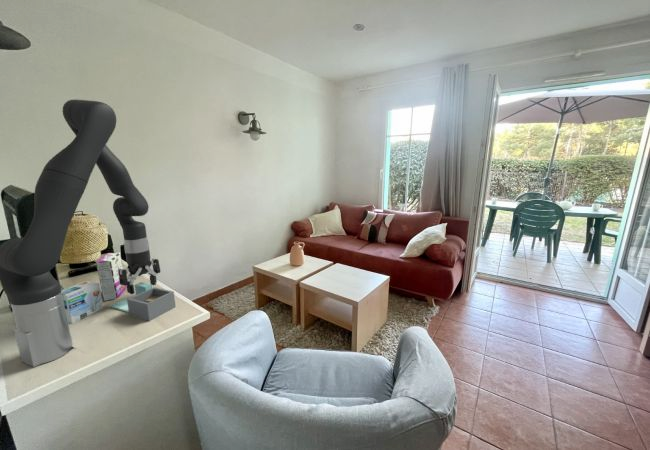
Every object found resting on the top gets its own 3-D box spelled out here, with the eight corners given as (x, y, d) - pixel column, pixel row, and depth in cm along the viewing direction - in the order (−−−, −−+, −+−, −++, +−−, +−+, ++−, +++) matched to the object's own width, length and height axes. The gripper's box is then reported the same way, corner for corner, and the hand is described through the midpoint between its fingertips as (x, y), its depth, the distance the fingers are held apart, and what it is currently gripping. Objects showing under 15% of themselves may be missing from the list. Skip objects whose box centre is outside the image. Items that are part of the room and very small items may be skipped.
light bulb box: (72, 325, 87) (66, 295, 84) (56, 323, 88) (50, 293, 86) (105, 309, 97) (100, 282, 95) (90, 307, 98) (85, 280, 96)
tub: (149, 323, 88) (147, 304, 87) (129, 317, 92) (126, 298, 90) (175, 309, 97) (173, 291, 96) (156, 304, 101) (154, 287, 100)
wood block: (155, 310, 95) (154, 301, 94) (146, 309, 95) (145, 300, 95) (162, 305, 99) (161, 296, 98) (153, 304, 99) (152, 296, 98)
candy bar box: (112, 289, 113) (106, 253, 109) (126, 287, 115) (121, 252, 111) (102, 301, 103) (95, 261, 99) (117, 299, 104) (111, 260, 101)
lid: (128, 314, 94) (125, 297, 92) (110, 309, 97) (107, 293, 96) (157, 300, 104) (155, 285, 102) (140, 296, 107) (138, 281, 106)
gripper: (124, 256, 92) (130, 298, 95) (161, 245, 105) (166, 283, 108) (110, 253, 95) (117, 295, 98) (148, 243, 108) (153, 280, 111)
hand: (143, 288), depth 103 cm, fingers open, 8 cm apart
